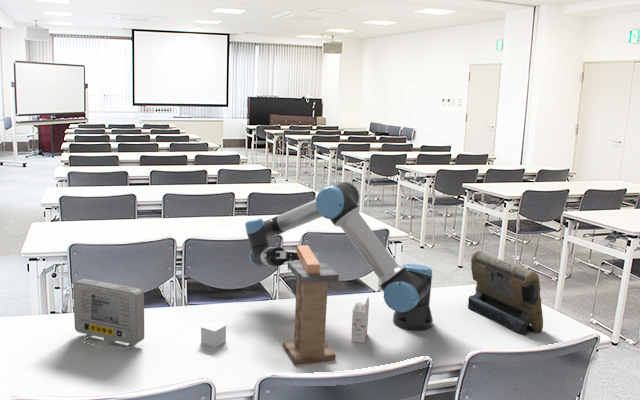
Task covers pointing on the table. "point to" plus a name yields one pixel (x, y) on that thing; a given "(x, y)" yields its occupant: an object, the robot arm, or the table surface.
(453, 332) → the table surface
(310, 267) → the bar
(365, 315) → the ink cartridge box
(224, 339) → the white cube
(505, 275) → the tablet
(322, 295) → the wooden pedestal stand
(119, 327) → the network device
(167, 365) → the table surface
